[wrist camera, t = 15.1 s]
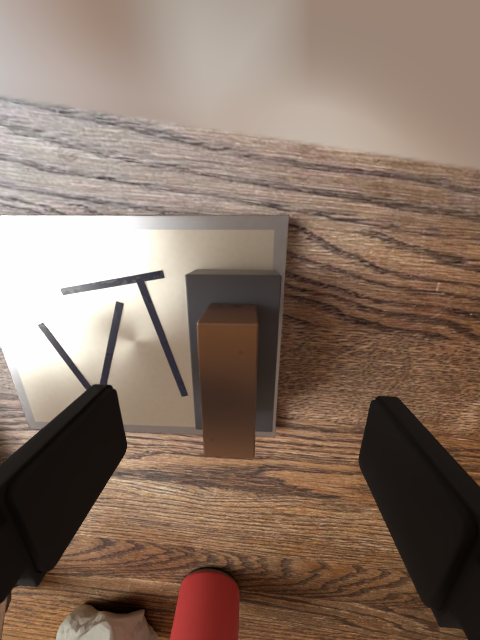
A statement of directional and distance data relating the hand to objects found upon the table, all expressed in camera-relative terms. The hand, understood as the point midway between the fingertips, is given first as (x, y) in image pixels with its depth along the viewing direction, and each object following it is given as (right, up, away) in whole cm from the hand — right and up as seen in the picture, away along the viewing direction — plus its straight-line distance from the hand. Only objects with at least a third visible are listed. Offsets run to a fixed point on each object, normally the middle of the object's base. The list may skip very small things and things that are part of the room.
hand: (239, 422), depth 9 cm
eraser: (0, +2, +7) cm, 8 cm away
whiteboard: (-7, +3, +8) cm, 11 cm away
